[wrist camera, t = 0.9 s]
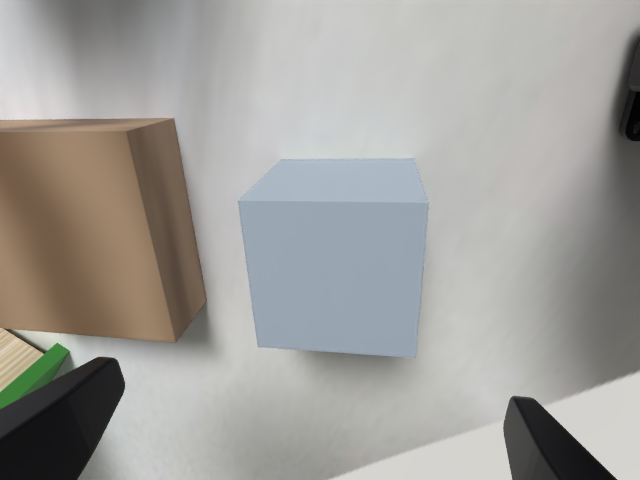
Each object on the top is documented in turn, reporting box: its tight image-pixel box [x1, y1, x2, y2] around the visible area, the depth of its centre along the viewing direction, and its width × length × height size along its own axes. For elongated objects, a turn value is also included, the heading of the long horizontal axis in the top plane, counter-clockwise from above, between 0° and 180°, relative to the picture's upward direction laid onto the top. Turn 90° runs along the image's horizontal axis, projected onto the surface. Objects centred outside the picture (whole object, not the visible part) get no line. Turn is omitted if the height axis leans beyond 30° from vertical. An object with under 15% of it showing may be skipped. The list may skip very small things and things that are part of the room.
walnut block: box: [0, 118, 207, 342], centre depth 19 cm, size 10×10×4 cm
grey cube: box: [238, 158, 428, 358], centre depth 16 cm, size 6×6×6 cm
